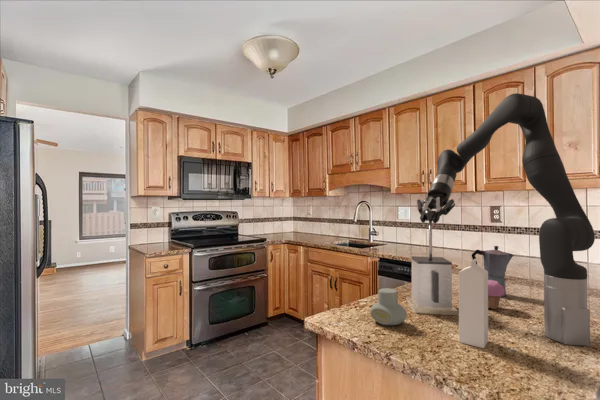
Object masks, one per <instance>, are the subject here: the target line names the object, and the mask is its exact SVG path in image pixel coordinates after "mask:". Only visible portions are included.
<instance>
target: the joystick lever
mask: <svg viewBox="0 0 600 400" xmlns="http://www.w3.org/2000/svg"><path fill="white" fill-rule="evenodd" d="M435 212H436V210H432V211H425V222H426V221H428V257H429V260H432V257H433V220H432V219H433V216H434V214H435Z"/></svg>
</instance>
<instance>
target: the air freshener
mask: <svg viewBox="0 0 600 400" xmlns="http://www.w3.org/2000/svg"><path fill="white" fill-rule="evenodd" d="M398 292H399V291H398V290H396V289H395V288H391V287H390V288H388V287H385V288H380V289H379V290H378V297H377V298H378V300H377V301H378V302H376V303H374V304H373V305H372V306H371V307H370V310H369V311H370V312H369V313H370V316H371V317H372V319H373V320H374V321H375V322H377V323H379V324H380V325H382V326H384V327H385V326H387V327H390V326H398V325H400V324H402V323H403V322H405V320H406V318H407V311H406V309H405V308H404V307H403V306H402V305H401V304H400V303H399V293H398Z"/></svg>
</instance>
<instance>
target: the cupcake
mask: <svg viewBox="0 0 600 400" xmlns="http://www.w3.org/2000/svg"><path fill="white" fill-rule="evenodd" d="M505 291H506V290H505ZM505 291H504V288H503V286H502V285H500V284H499V282H497V281H494V280H488V309H493V310H497V309H498V308H499V305H500V301H501V298H502V297H501V296H503V295H504V293H505Z"/></svg>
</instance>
